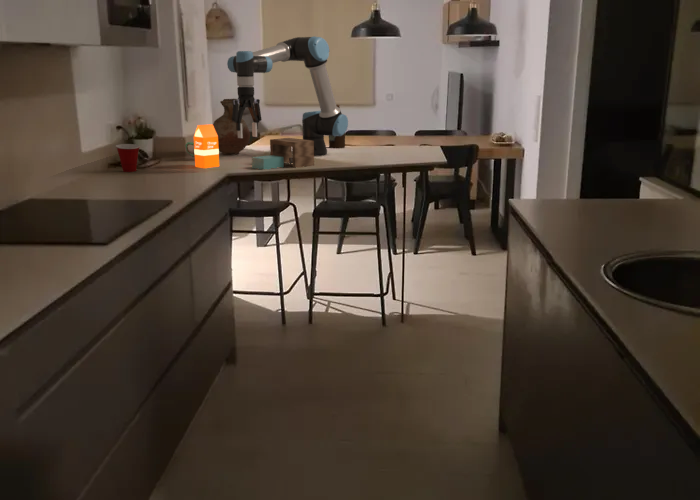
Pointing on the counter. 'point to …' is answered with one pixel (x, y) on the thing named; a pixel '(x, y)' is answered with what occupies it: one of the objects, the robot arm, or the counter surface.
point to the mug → (187, 148)
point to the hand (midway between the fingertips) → (247, 137)
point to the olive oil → (337, 140)
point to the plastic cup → (128, 156)
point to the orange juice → (206, 147)
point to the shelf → (293, 151)
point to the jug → (230, 131)
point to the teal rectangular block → (267, 162)
